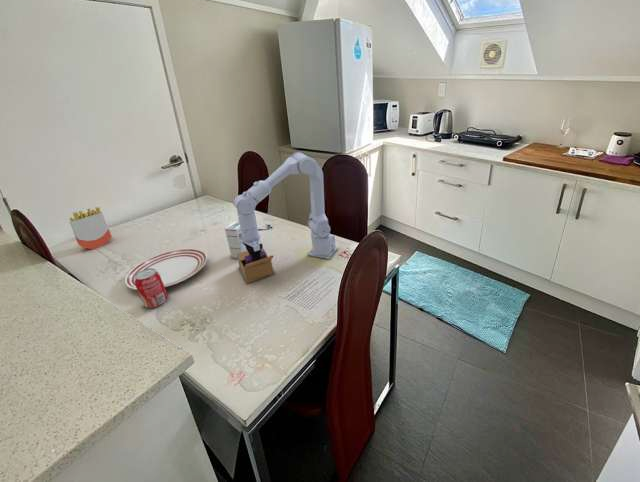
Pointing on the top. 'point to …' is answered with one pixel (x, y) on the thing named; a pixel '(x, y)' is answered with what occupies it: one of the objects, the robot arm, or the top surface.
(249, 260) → the purple yarn skein
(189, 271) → the dinner plate
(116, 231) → the top surface
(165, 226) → the top surface
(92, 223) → the french fries container
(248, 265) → the bin flap
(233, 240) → the syrup box
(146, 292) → the soda can
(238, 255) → the bin
